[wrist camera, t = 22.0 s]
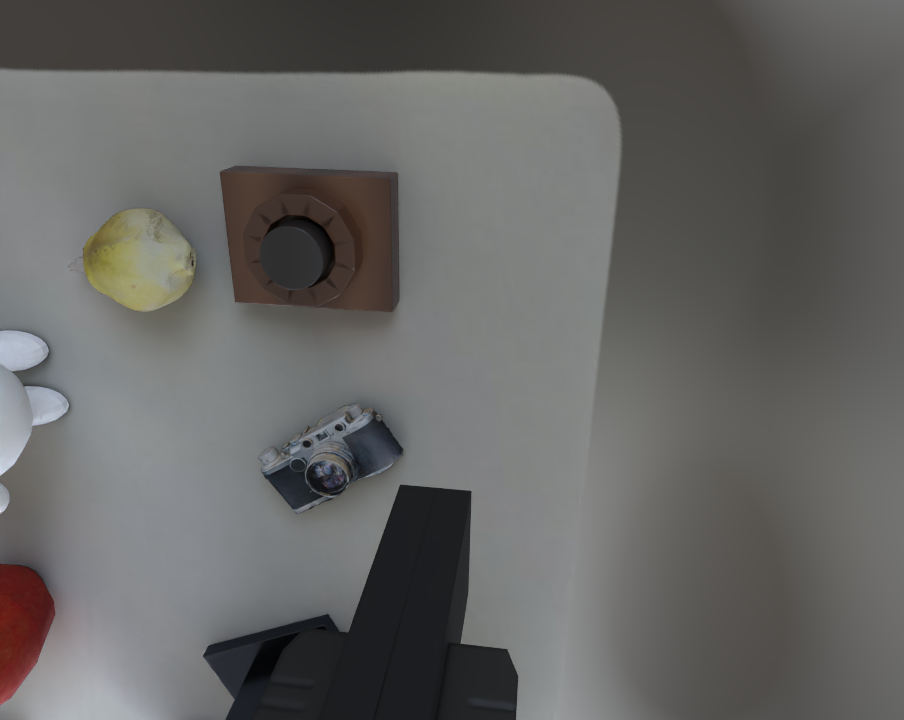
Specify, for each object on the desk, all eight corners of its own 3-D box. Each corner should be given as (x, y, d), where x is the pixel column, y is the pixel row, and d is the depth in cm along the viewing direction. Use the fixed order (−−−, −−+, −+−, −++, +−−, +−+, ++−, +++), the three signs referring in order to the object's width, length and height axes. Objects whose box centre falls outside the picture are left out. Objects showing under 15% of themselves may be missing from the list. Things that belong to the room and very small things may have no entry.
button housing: (398, 172, 40) (384, 184, 36) (399, 300, 43) (386, 323, 40) (234, 165, 41) (205, 176, 37) (248, 291, 44) (222, 313, 41)
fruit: (60, 218, 44) (182, 180, 40) (119, 291, 47) (236, 262, 44) (3, 270, 40) (134, 233, 36) (73, 346, 43) (198, 318, 40)
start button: (330, 220, 38) (321, 227, 36) (333, 282, 39) (324, 291, 38) (267, 217, 38) (256, 224, 37) (273, 278, 40) (262, 288, 38)
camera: (256, 450, 49) (233, 482, 46) (372, 389, 46) (357, 419, 42) (297, 501, 51) (278, 537, 47) (412, 446, 48) (401, 480, 44)
